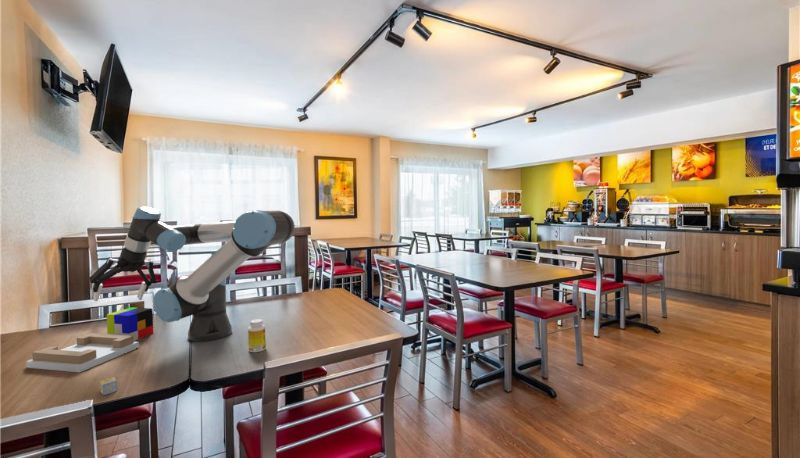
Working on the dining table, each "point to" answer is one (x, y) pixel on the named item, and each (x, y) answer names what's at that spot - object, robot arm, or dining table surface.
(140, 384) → the dining table surface
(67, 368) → the foundation plate
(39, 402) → the dining table surface
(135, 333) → the puzzle toy
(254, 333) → the supplement bottle
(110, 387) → the alphabet block
